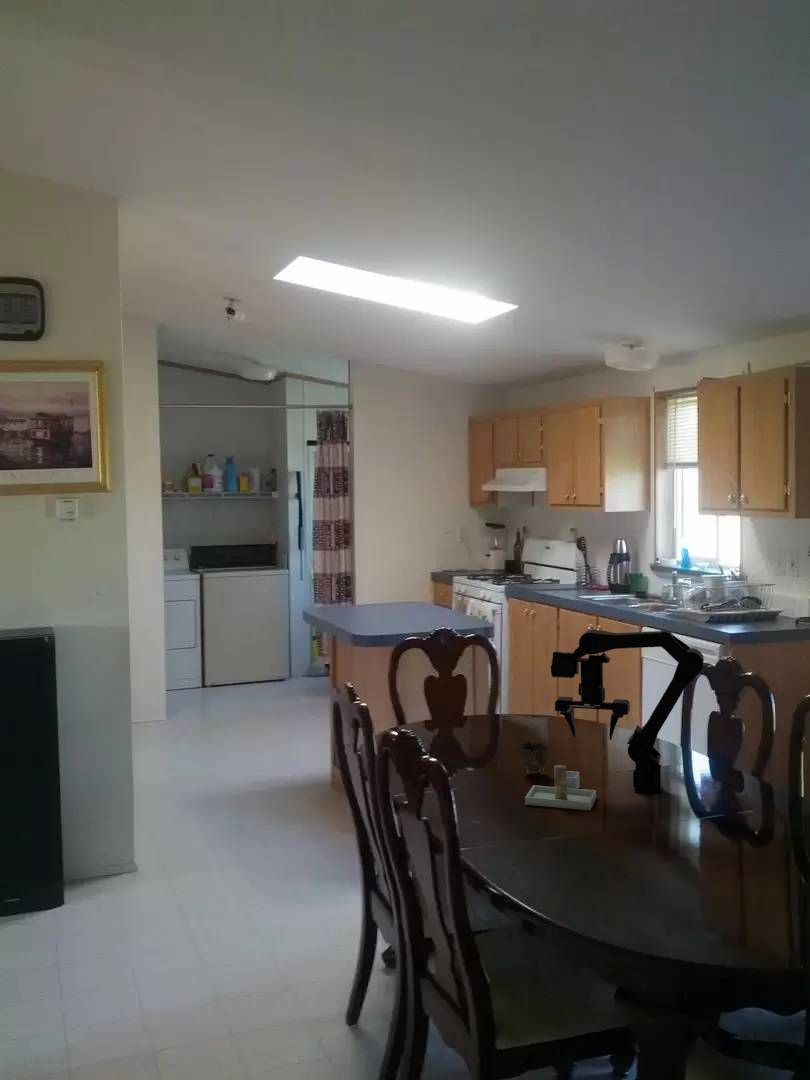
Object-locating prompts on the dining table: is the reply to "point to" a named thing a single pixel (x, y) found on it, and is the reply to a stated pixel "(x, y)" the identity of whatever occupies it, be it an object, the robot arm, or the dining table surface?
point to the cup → (533, 757)
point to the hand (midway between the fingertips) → (592, 738)
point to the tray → (574, 800)
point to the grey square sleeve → (573, 779)
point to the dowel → (560, 782)
